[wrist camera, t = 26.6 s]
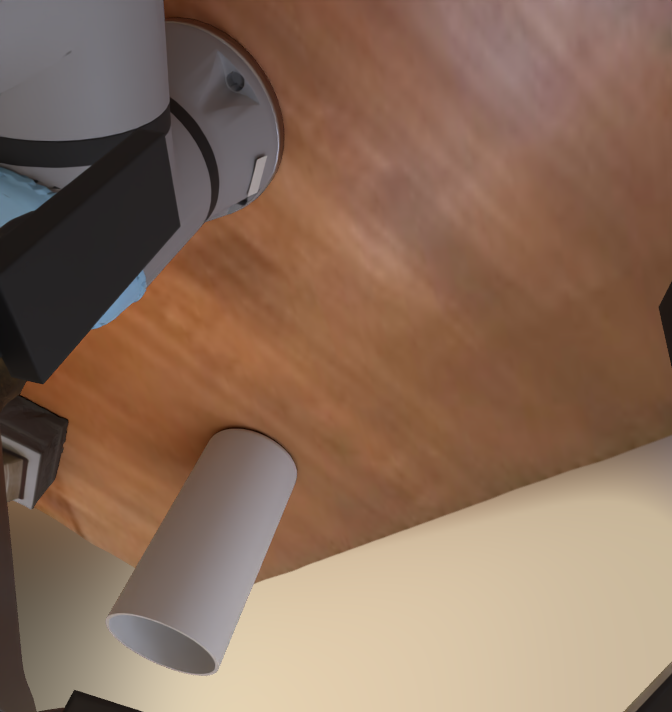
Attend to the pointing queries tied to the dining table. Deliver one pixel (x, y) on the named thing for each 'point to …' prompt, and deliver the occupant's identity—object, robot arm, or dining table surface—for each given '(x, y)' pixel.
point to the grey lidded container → (30, 449)
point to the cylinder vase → (206, 555)
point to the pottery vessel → (8, 385)
